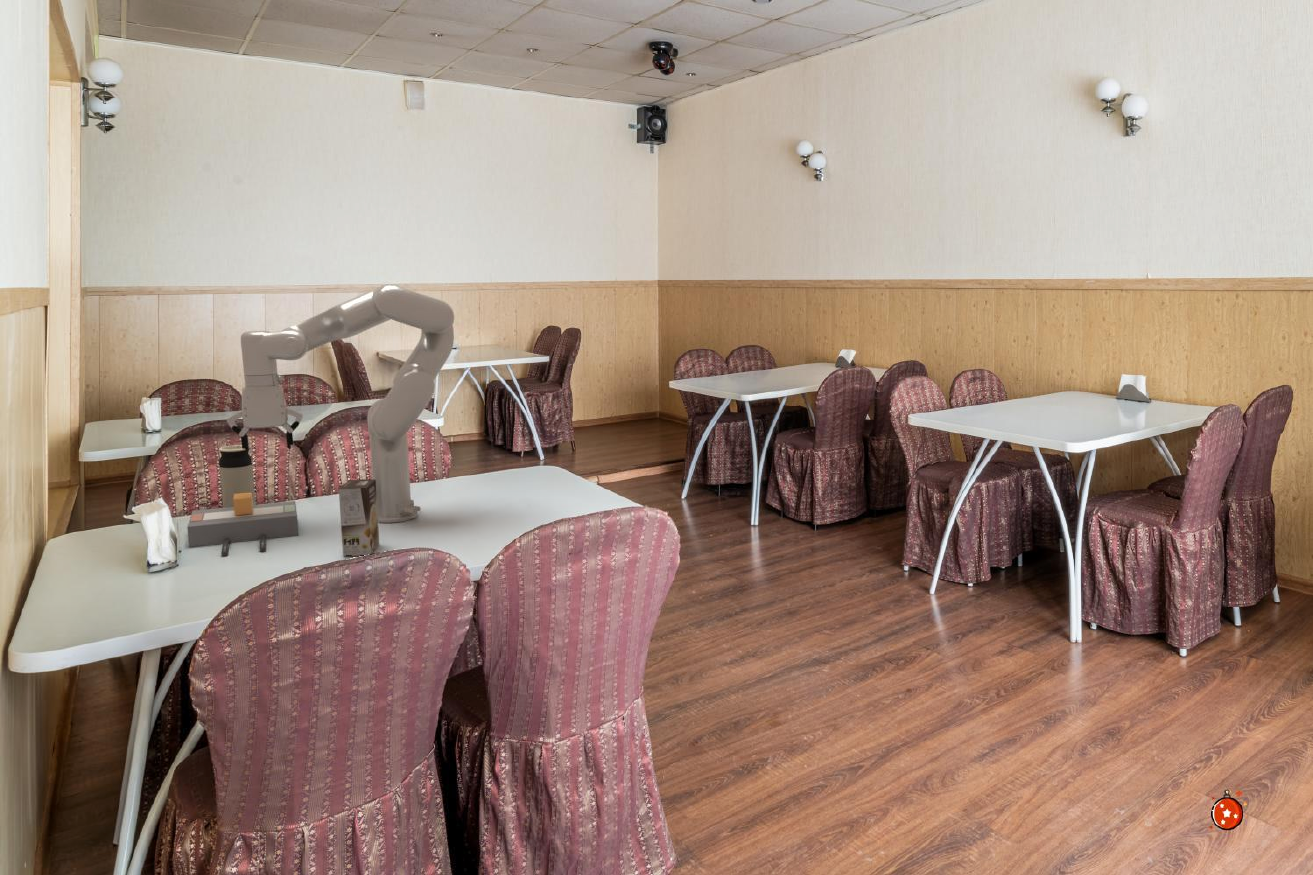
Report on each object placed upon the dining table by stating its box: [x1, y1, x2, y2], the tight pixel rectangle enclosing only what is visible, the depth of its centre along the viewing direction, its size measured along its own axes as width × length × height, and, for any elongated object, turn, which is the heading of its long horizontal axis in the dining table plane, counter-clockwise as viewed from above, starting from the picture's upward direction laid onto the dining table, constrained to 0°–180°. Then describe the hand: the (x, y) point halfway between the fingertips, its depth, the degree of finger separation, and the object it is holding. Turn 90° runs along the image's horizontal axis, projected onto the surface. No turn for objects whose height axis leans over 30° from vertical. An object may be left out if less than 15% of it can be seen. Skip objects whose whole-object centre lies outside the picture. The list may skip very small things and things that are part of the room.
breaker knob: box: [233, 492, 253, 515], centre depth 218 cm, size 4×6×4 cm, turn 23°
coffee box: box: [338, 478, 380, 557], centre depth 203 cm, size 9×6×16 cm
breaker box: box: [186, 500, 299, 557], centre depth 214 cm, size 24×27×5 cm
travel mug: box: [218, 444, 257, 508], centre depth 237 cm, size 8×8×18 cm
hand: (268, 449), depth 219 cm, fingers open, 9 cm apart
